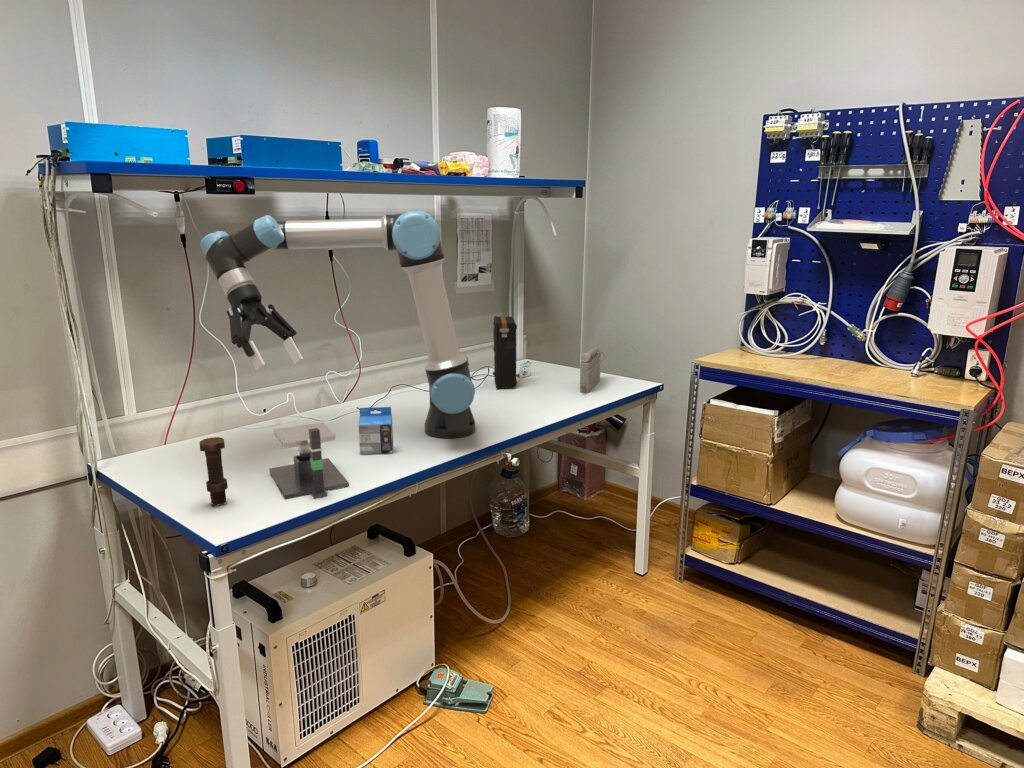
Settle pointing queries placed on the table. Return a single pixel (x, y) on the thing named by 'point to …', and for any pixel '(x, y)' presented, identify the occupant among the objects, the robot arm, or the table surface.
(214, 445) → the bolt
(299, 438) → the pan
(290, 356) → the robot arm
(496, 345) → the black case
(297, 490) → the stand
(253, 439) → the table surface
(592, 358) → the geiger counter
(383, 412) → the label tape box
